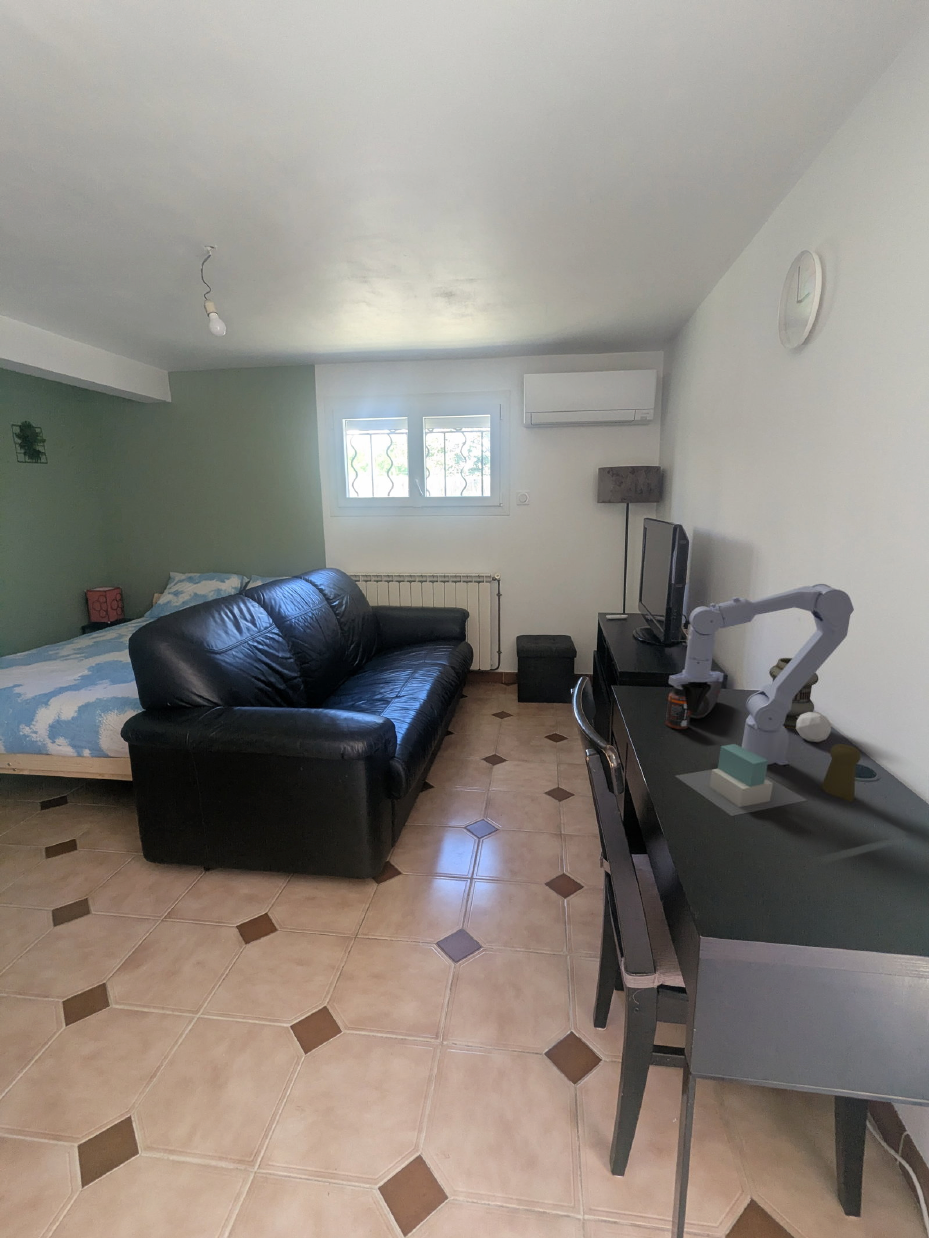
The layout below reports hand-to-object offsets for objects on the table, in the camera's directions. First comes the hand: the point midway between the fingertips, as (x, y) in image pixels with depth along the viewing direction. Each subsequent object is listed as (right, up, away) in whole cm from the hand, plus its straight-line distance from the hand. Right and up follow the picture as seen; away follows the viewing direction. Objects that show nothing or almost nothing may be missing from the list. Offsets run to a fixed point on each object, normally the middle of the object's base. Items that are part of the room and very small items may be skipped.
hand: (692, 710), depth 131 cm
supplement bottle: (+3, -7, +17) cm, 19 cm away
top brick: (+2, -10, -19) cm, 22 cm away
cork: (+24, -15, -16) cm, 33 cm away
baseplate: (+3, -14, -16) cm, 22 cm away
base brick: (+2, -14, -19) cm, 24 cm away
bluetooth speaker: (+14, -5, +29) cm, 33 cm away
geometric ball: (+36, -10, +11) cm, 39 cm away
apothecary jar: (+36, -7, +22) cm, 43 cm away
